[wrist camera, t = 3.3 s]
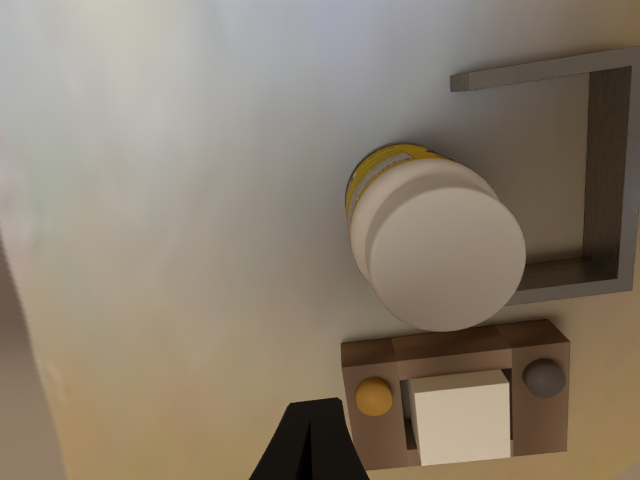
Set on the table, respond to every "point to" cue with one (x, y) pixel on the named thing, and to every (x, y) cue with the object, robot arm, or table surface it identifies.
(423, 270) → the supplement bottle
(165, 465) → the table surface
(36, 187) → the table surface
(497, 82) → the lockout bracket
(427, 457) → the button
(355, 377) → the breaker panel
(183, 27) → the table surface
